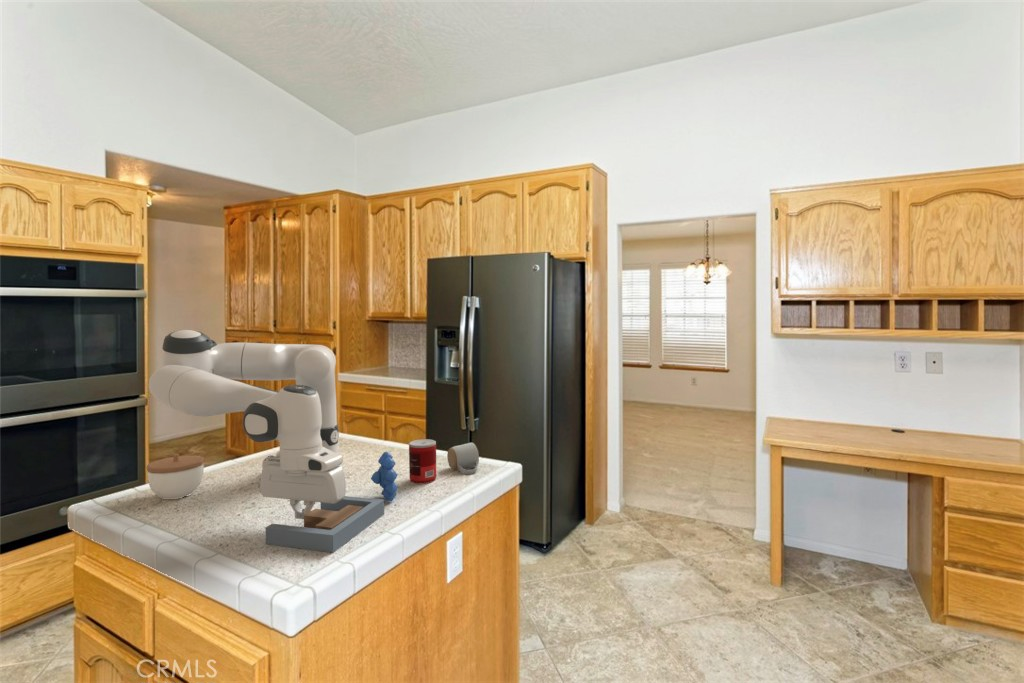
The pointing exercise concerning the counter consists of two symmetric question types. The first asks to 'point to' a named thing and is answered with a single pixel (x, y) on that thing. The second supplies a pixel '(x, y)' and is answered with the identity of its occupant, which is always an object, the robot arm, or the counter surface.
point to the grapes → (386, 476)
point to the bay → (328, 538)
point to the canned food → (422, 461)
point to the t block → (329, 517)
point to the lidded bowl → (175, 475)
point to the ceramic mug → (463, 458)
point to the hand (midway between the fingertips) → (302, 518)
